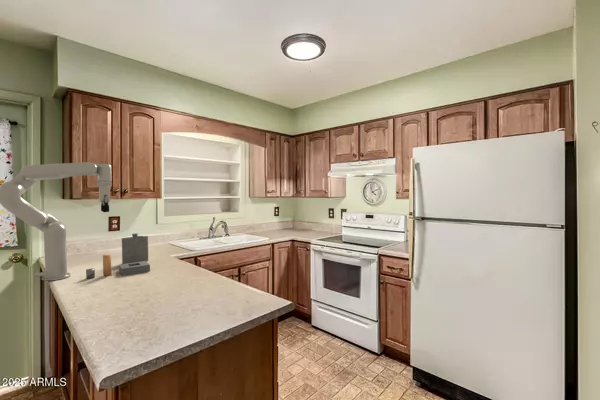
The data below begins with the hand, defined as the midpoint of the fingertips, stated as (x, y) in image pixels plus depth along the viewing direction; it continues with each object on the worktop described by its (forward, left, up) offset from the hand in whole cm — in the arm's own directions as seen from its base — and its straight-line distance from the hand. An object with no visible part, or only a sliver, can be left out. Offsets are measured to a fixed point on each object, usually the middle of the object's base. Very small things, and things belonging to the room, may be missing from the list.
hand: (105, 211), depth 179 cm
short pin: (-9, -13, -37) cm, 40 cm away
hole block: (+13, -13, -37) cm, 41 cm away
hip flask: (+18, +12, -37) cm, 43 cm away
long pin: (-1, -13, -37) cm, 39 cm away
